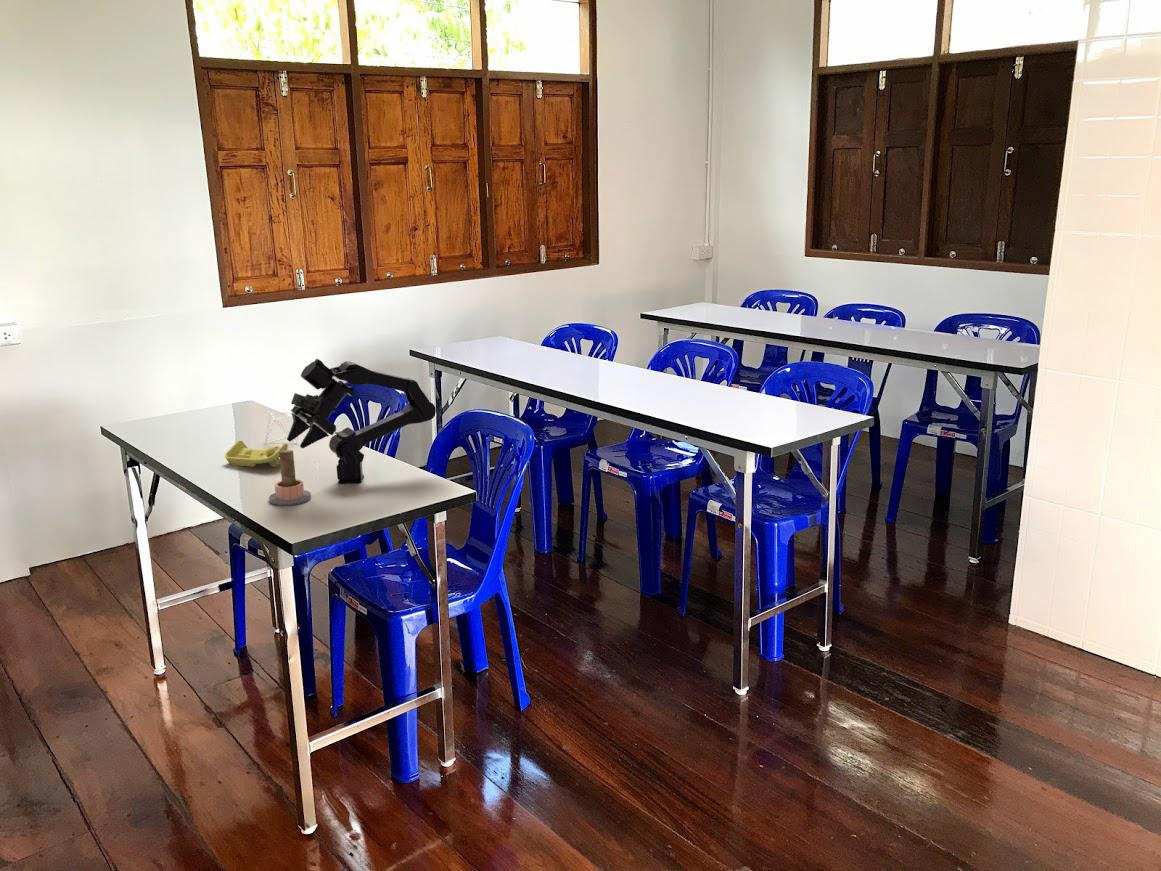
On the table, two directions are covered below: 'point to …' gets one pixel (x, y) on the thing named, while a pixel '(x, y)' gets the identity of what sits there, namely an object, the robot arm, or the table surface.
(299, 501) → the ring
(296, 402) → the robot arm
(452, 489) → the table surface
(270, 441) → the geometric polyhedron
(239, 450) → the plastic component
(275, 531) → the table surface
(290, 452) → the walnut rail post
